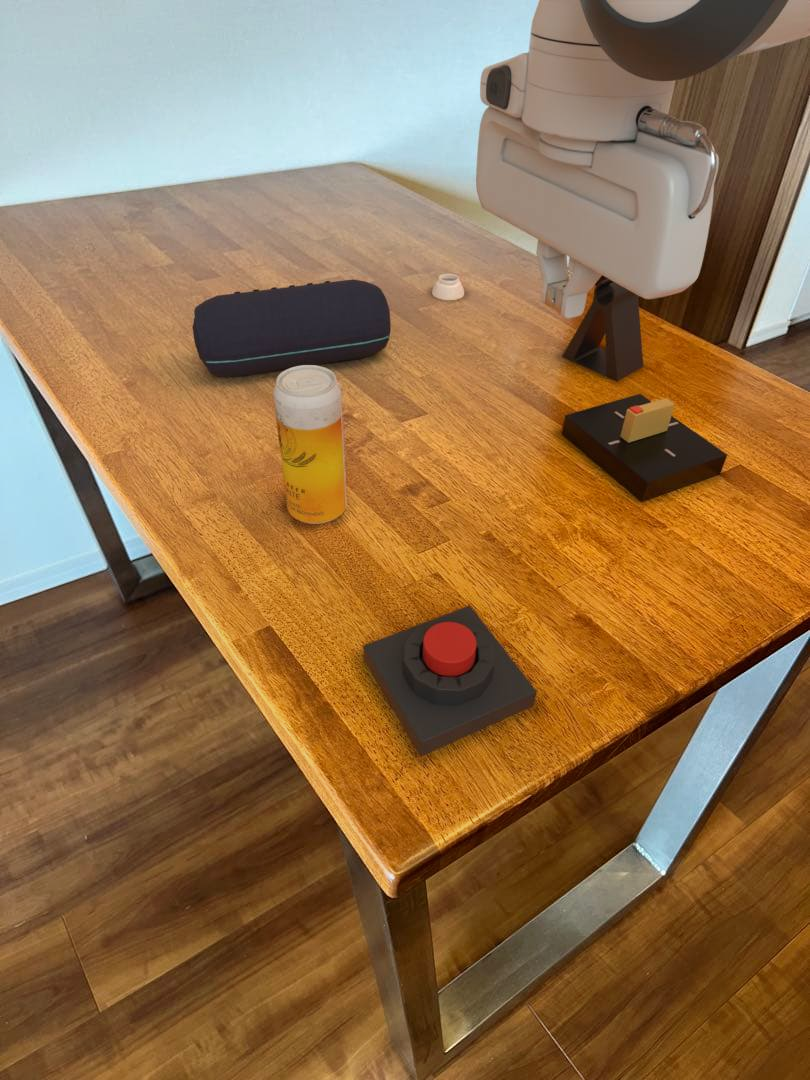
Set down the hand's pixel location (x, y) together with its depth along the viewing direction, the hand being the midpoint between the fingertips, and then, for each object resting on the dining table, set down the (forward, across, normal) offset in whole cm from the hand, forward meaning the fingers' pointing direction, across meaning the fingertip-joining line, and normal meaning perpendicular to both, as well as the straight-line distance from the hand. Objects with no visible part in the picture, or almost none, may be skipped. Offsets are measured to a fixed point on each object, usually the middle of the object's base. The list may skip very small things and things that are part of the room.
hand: (561, 309), depth 54 cm
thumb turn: (+22, +8, -21) cm, 31 cm away
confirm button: (+21, -10, +14) cm, 27 cm away
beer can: (+25, +15, +15) cm, 33 cm away
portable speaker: (+25, +45, +6) cm, 52 cm away
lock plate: (+25, +8, -21) cm, 33 cm away
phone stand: (+25, +26, -31) cm, 48 cm away
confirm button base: (+25, -10, +14) cm, 30 cm away
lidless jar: (+25, +55, -24) cm, 64 cm away
